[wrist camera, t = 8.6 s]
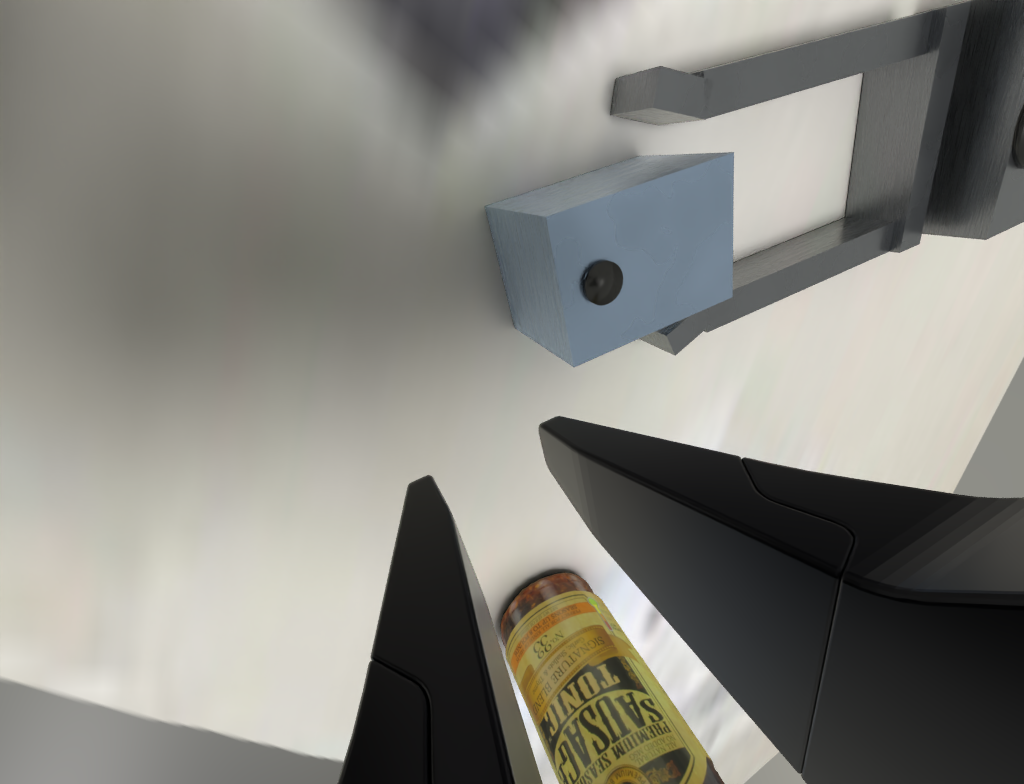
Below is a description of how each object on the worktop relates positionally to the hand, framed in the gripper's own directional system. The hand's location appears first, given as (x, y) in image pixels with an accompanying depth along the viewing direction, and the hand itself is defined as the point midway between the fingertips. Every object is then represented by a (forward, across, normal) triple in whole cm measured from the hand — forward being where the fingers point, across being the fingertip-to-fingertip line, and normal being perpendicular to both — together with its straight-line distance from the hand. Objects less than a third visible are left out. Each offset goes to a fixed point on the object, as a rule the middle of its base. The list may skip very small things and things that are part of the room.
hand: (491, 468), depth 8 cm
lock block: (+11, -8, 0) cm, 14 cm away
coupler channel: (+11, -22, 0) cm, 24 cm away
